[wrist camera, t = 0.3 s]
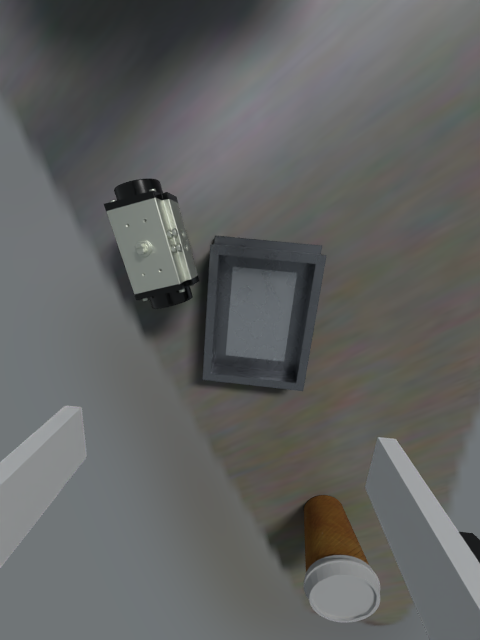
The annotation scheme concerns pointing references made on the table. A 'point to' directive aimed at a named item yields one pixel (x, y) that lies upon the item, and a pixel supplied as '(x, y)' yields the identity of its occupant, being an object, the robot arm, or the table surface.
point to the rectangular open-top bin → (261, 311)
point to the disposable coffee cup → (336, 564)
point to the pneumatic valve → (152, 242)
